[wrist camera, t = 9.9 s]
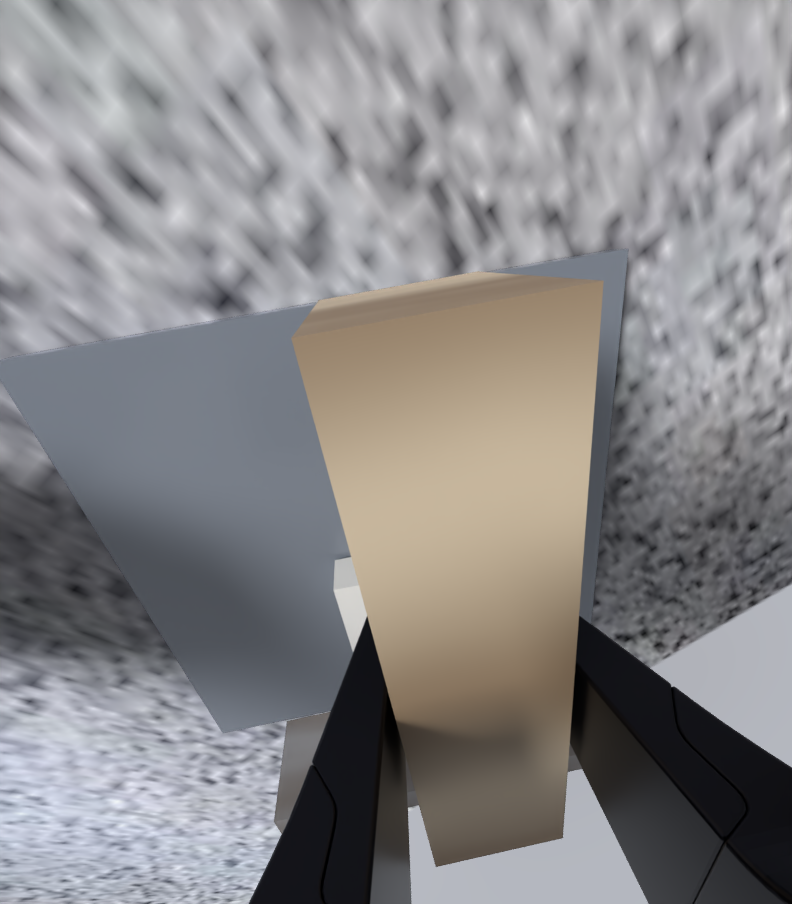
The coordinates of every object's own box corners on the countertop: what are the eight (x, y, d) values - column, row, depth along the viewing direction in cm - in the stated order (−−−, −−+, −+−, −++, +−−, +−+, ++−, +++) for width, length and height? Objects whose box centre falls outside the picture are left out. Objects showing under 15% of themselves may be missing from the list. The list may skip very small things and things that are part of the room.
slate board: (227, 715, 19) (223, 733, 19) (11, 356, 11) (-11, 362, 11) (579, 642, 20) (587, 656, 19) (611, 249, 12) (628, 248, 11)
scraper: (100, 339, 7) (-151, 419, 4) (683, 234, 7) (996, 208, 4) (293, 735, 13) (273, 918, 9) (618, 665, 13) (720, 816, 10)
